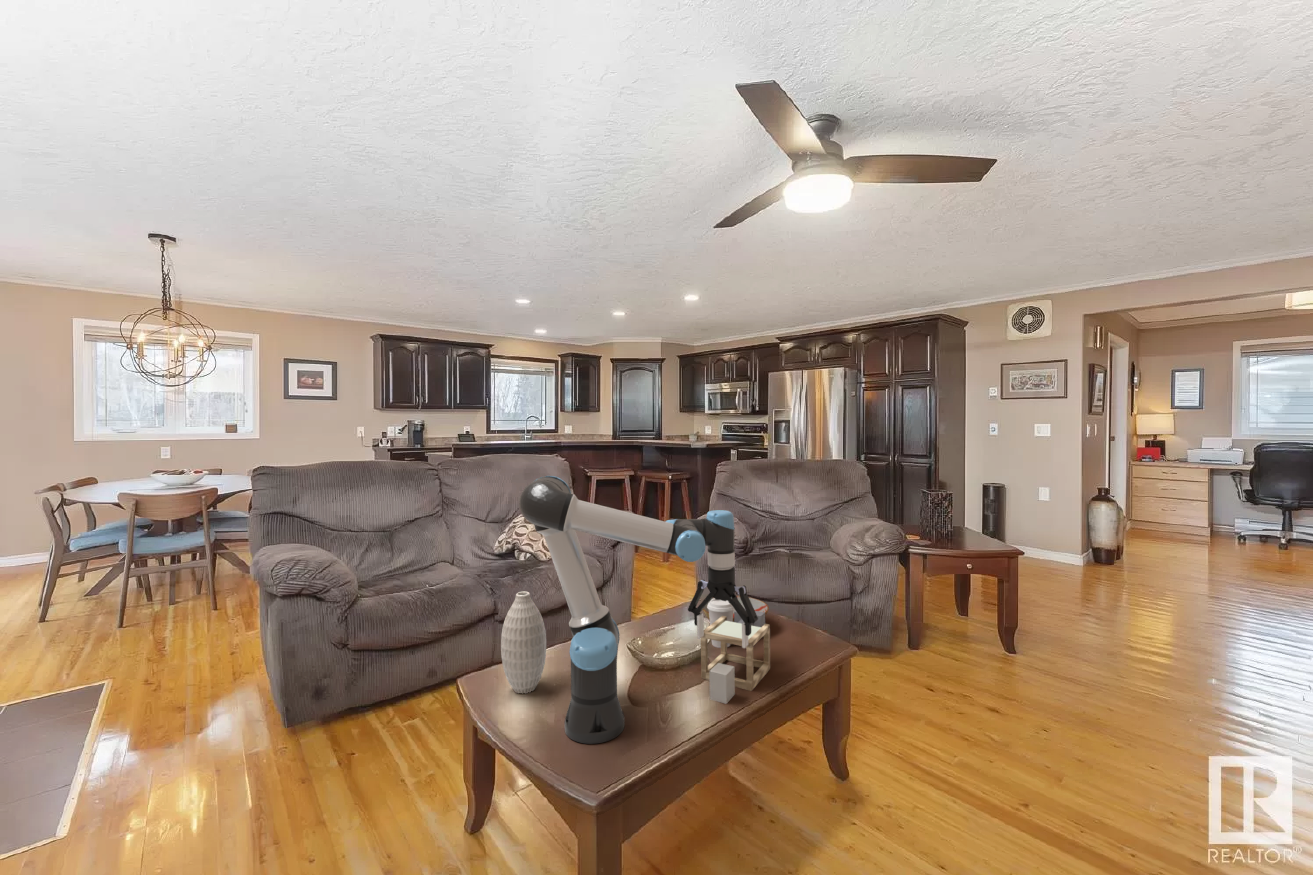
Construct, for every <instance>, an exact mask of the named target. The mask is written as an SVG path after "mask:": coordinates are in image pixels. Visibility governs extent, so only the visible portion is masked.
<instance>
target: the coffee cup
mask: <svg viewBox="0 0 1313 875" xmlns="http://www.w3.org/2000/svg"><path fill="white" fill-rule="evenodd" d="M707 608H708V609H709V619H710V620H709V619H708V620H709V626H710V625H711V624H712V623H714V622H715V621H716V620H718V619H719V618H720V617H721V616H727V621H730V622H732V621H733V610H734V607H733V606H732V605H731V604H730V603H729V602H728V601H722V600H715V598H713V599H712V600H711V601H710V602H709V603H708V605H707ZM711 645H712V646H713V647H715V648H718V649H721V642H720V641H716V640H711ZM731 645H732V644H730V643H727V648H730V647H731Z"/></svg>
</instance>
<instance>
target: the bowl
mask: <svg viewBox="0 0 1313 875" xmlns="http://www.w3.org/2000/svg"><path fill="white" fill-rule="evenodd" d="M736 596H737V598H738V601H739V602H740V603H741V605H742V606H743V607H744V605H743V603H742V601H741V599H740V595H736ZM748 597H749V599H750V601H751V604H752V606H753V608H754V610H755V611H760V612H765V617H766V615H767V614H768V612H769V610H770V607H769V604H767V603H766V602H764V601H762V600H760V599H757V598H754V597H751V596H748ZM713 598H714V597H713ZM713 598H712V599H713ZM731 598H732V597H731ZM707 605H708V604H707ZM707 605H706V606H705V607H704V609H703V610H702V611H703V612H702V613H703V614H704V616H706V618H707V619H708V620H709V621H710V619H709V609H708V608H707ZM744 609H745V607H744ZM734 611H736V610H735V609H734V610H733V621H732V622H734Z"/></svg>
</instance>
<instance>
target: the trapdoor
mask: <svg viewBox="0 0 1313 875" xmlns="http://www.w3.org/2000/svg"><path fill="white" fill-rule="evenodd" d="M755 612H756V615H757V617H758V620H757V621H756V622H755V623H751V634H750V635H749V636H748V640H749V639H750V638H751V637H752V636H753V635H754V634H755V633H756V632H757V631H758V630H759V629H760V628H761V627H762V626H763V625H764V624H766V616H765V612H760V611H755ZM743 623H744V621H743V620H742V619H741V617H740V616H739V614H738V613H737V612H736V611H734V622H730V621H725V622H723V623H722V624H721V625H720V626H718V627H717V628H716V629H715V630H713V631H712V633H716V634H721V635H726V636H731V637H736V638H741V639H742V624H743Z"/></svg>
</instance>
